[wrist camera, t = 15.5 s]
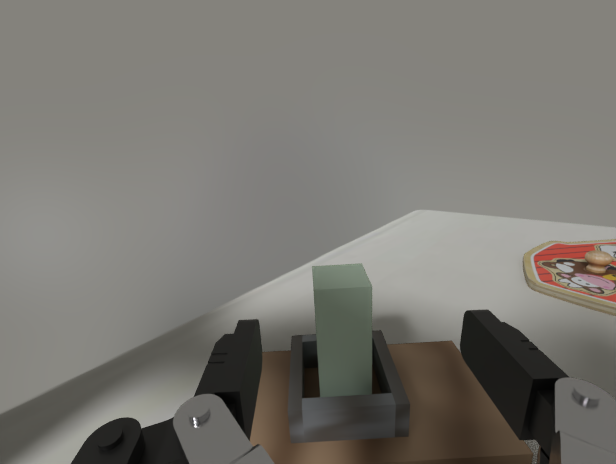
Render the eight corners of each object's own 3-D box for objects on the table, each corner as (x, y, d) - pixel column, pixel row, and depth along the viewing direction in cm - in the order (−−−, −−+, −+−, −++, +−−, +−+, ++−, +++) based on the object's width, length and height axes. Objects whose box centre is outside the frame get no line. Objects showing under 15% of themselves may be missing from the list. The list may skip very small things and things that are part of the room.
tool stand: (235, 482, 21) (227, 437, 20) (259, 360, 33) (255, 327, 32) (530, 464, 21) (540, 418, 20) (451, 348, 33) (454, 315, 32)
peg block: (321, 415, 25) (313, 289, 22) (318, 377, 29) (312, 266, 25) (371, 412, 25) (372, 286, 22) (362, 375, 29) (361, 263, 25)
